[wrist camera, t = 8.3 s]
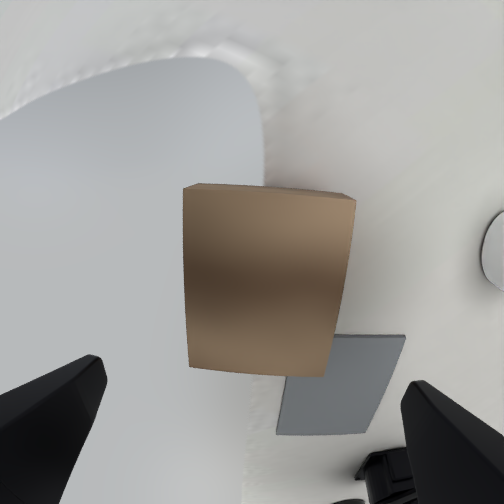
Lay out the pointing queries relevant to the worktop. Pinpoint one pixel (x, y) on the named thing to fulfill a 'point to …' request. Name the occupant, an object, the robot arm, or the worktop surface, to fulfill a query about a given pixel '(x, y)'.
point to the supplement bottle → (351, 502)
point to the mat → (341, 387)
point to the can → (494, 252)
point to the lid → (264, 276)
